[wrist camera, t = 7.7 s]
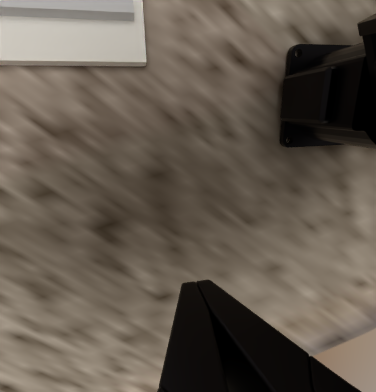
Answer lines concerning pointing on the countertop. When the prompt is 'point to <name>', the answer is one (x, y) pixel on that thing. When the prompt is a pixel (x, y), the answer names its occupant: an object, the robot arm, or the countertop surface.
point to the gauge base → (72, 33)
